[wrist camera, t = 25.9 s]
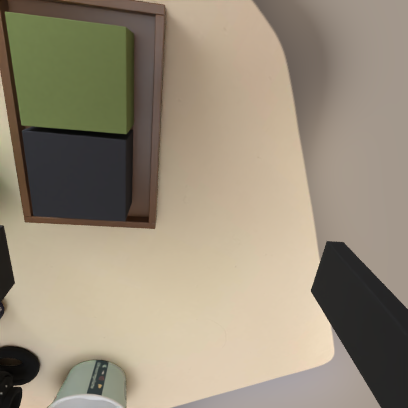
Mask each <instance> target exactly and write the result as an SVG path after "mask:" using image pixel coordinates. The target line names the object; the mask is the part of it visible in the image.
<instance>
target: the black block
mask: <svg viewBox="0 0 408 408" xmlns="http://www.w3.org/2000/svg"><path fill="white" fill-rule="evenodd" d="M22 136H23V143H24V150H25V158H26V165H27V172H28V180H29V187H30V195H31V202H32V209H33V216H39V217H56V218H73V219H89V220H106V221H123V222H125V221H126V219H127V216H128V213H129V210H130V206H131V203H132V175H133V130H129V132H128V133H127V134H117V133H105V132H93V131H82V130H70V129H58V128H46V127H34V126H32V127H29V128H27V129H25V130H22Z"/></svg>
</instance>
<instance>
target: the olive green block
mask: <svg viewBox="0 0 408 408" xmlns="http://www.w3.org/2000/svg"><path fill="white" fill-rule="evenodd" d="M5 17H6V24H7V31H8V38H9V44H10V51H11V58H12V64H13V71H14V78H15V85H16V91H17V98H18V105H19V111H20V118H21V125H22V126H34V127H46V128H58V129H70V130H82V131H93V132H105V133H117V134H127V133H128V132H129V130H130V129H131V128H132V126H133V125H134V33H133V32H132V31H130V30H129V29H128V28H127V27H124V26H116V25H108V24H100V23H92V22H84V21H76V20H68V19H60V18H52V17H45V16H37V15H29V14H21V13H13V12H5Z"/></svg>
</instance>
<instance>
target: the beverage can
mask: <svg viewBox="0 0 408 408" xmlns="http://www.w3.org/2000/svg"><path fill="white" fill-rule="evenodd" d="M3 314H4V306H3V304H2V302H0V319H1V317H2V316H3Z"/></svg>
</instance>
